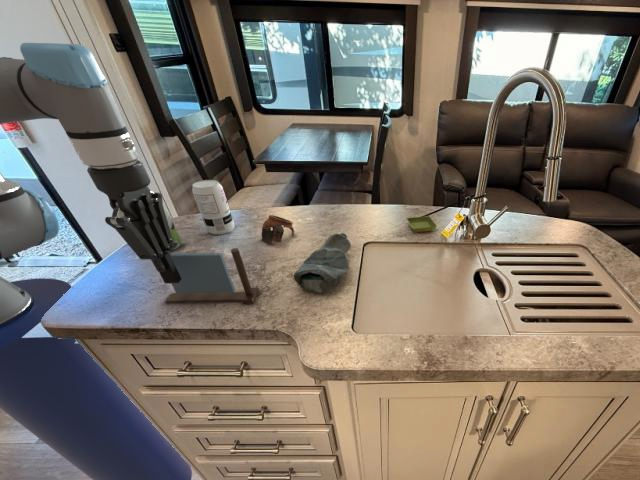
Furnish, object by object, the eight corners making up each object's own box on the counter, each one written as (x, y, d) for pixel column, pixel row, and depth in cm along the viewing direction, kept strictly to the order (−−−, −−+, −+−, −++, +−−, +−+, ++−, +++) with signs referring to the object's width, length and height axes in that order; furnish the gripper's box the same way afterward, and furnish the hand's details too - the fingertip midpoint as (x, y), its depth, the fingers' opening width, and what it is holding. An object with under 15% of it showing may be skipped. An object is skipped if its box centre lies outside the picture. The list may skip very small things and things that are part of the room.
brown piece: (258, 237, 102) (264, 212, 100) (288, 245, 107) (294, 221, 105) (260, 244, 92) (267, 216, 90) (293, 252, 97) (301, 226, 95)
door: (174, 295, 73) (154, 258, 67) (178, 290, 75) (159, 253, 69) (232, 294, 74) (218, 257, 68) (235, 289, 76) (221, 252, 70)
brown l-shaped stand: (164, 305, 74) (136, 256, 66) (174, 292, 78) (150, 245, 70) (253, 303, 75) (237, 255, 67) (259, 291, 79) (245, 244, 71)
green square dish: (437, 232, 107) (437, 226, 106) (412, 234, 105) (412, 228, 104) (429, 221, 114) (429, 215, 113) (405, 223, 112) (405, 217, 111)
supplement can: (203, 230, 104) (185, 183, 95) (227, 222, 109) (213, 177, 100) (215, 238, 100) (197, 190, 91) (240, 229, 105) (225, 183, 96)
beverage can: (181, 240, 98) (164, 202, 91) (186, 250, 94) (168, 211, 86) (157, 246, 95) (138, 207, 88) (161, 256, 91) (141, 216, 83)
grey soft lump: (337, 299, 77) (367, 248, 96) (332, 275, 72) (364, 226, 91) (288, 295, 79) (326, 246, 98) (279, 271, 75) (322, 224, 94)
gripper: (112, 175, 48) (176, 299, 62) (159, 153, 58) (204, 264, 72) (58, 175, 47) (136, 300, 62) (115, 152, 57) (170, 264, 72)
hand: (173, 281), depth 67 cm, fingers closed
